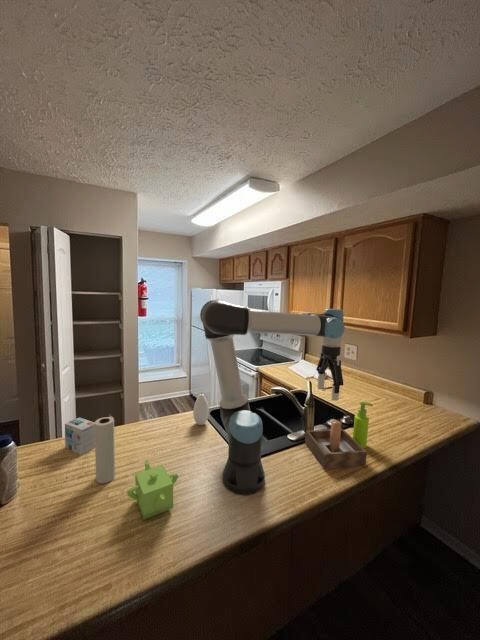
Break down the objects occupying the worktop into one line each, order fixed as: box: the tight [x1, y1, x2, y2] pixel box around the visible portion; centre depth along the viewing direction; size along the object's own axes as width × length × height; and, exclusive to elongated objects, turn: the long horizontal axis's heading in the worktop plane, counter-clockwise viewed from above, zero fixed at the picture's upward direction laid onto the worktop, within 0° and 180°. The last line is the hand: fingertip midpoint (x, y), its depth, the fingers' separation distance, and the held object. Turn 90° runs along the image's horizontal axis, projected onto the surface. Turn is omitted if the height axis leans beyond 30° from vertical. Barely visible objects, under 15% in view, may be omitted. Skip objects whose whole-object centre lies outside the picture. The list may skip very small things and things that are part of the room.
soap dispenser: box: [352, 401, 374, 449], centre depth 122 cm, size 6×7×20 cm
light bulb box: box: [64, 417, 95, 456], centre depth 113 cm, size 11×7×11 cm, turn 65°
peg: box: [329, 419, 343, 453], centre depth 115 cm, size 4×4×14 cm
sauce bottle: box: [192, 389, 210, 426], centre depth 136 cm, size 8×8×18 cm
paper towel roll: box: [94, 415, 116, 484], centre depth 95 cm, size 7×6×21 cm
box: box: [304, 428, 368, 470], centre depth 115 cm, size 18×18×6 cm
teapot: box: [127, 459, 179, 521], centre depth 84 cm, size 15×13×11 cm
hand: (327, 393), depth 117 cm, fingers open, 13 cm apart
